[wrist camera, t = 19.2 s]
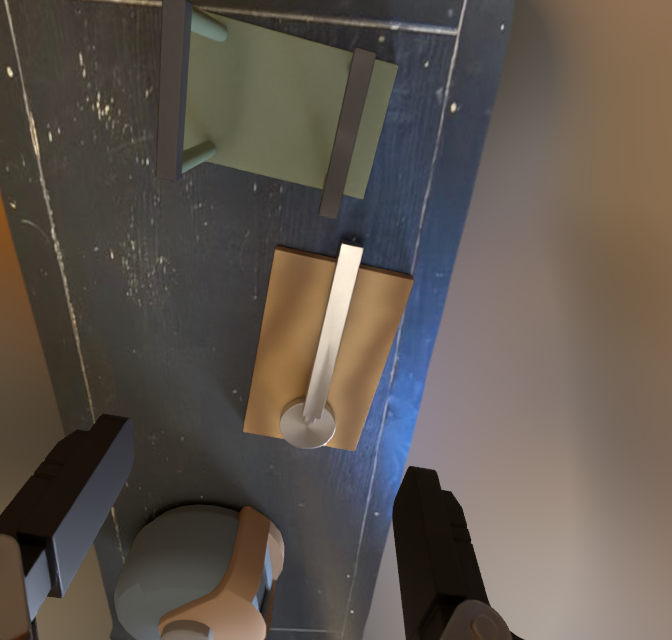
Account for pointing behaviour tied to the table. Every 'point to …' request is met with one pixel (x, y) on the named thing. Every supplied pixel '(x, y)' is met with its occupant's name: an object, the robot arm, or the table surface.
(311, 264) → the board
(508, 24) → the table surface
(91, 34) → the table surface
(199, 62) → the rack
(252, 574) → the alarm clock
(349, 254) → the ladle
